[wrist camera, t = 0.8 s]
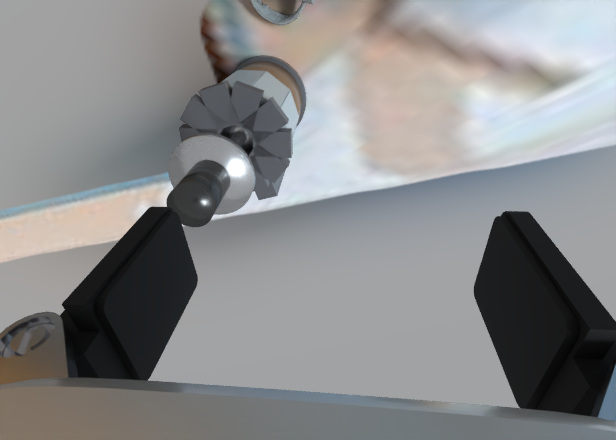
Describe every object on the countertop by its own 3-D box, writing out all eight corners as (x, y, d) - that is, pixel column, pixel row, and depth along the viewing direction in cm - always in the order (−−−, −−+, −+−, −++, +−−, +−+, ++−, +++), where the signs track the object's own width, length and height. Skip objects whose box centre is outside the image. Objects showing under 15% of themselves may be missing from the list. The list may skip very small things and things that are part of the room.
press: (292, 43, 39) (268, 68, 26) (321, 139, 45) (312, 196, 32) (214, 70, 41) (158, 104, 29) (251, 158, 47) (218, 218, 34)
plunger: (259, 92, 29) (212, 150, 19) (283, 156, 32) (253, 237, 22) (197, 112, 31) (120, 176, 20) (225, 171, 34) (171, 254, 23)
